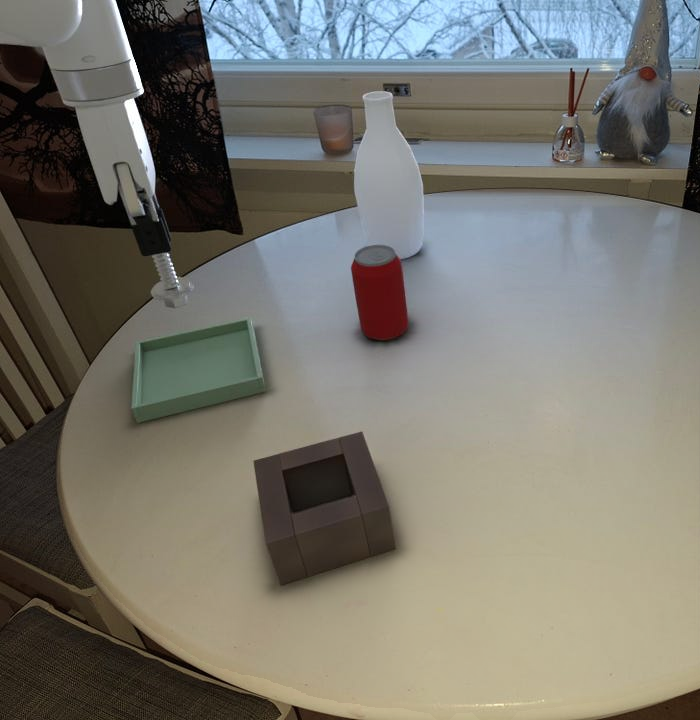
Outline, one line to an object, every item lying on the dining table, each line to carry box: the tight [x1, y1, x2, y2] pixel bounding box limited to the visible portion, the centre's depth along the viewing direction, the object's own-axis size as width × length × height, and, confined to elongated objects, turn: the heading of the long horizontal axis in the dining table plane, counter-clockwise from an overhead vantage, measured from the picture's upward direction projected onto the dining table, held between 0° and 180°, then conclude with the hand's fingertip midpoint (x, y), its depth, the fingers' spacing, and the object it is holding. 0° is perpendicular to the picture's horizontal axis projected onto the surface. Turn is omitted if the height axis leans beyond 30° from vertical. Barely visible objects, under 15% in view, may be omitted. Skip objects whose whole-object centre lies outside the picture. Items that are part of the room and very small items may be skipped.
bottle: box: [353, 90, 425, 260], centre depth 109 cm, size 11×11×25 cm
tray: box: [130, 317, 267, 424], centre depth 89 cm, size 15×15×2 cm
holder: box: [252, 431, 397, 586], centre depth 66 cm, size 11×11×6 cm
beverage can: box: [350, 245, 409, 341], centre depth 92 cm, size 7×7×12 cm
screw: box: [142, 203, 195, 309], centre depth 79 cm, size 13×5×5 cm
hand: (156, 247), depth 78 cm, fingers closed on screw, 2 cm apart
